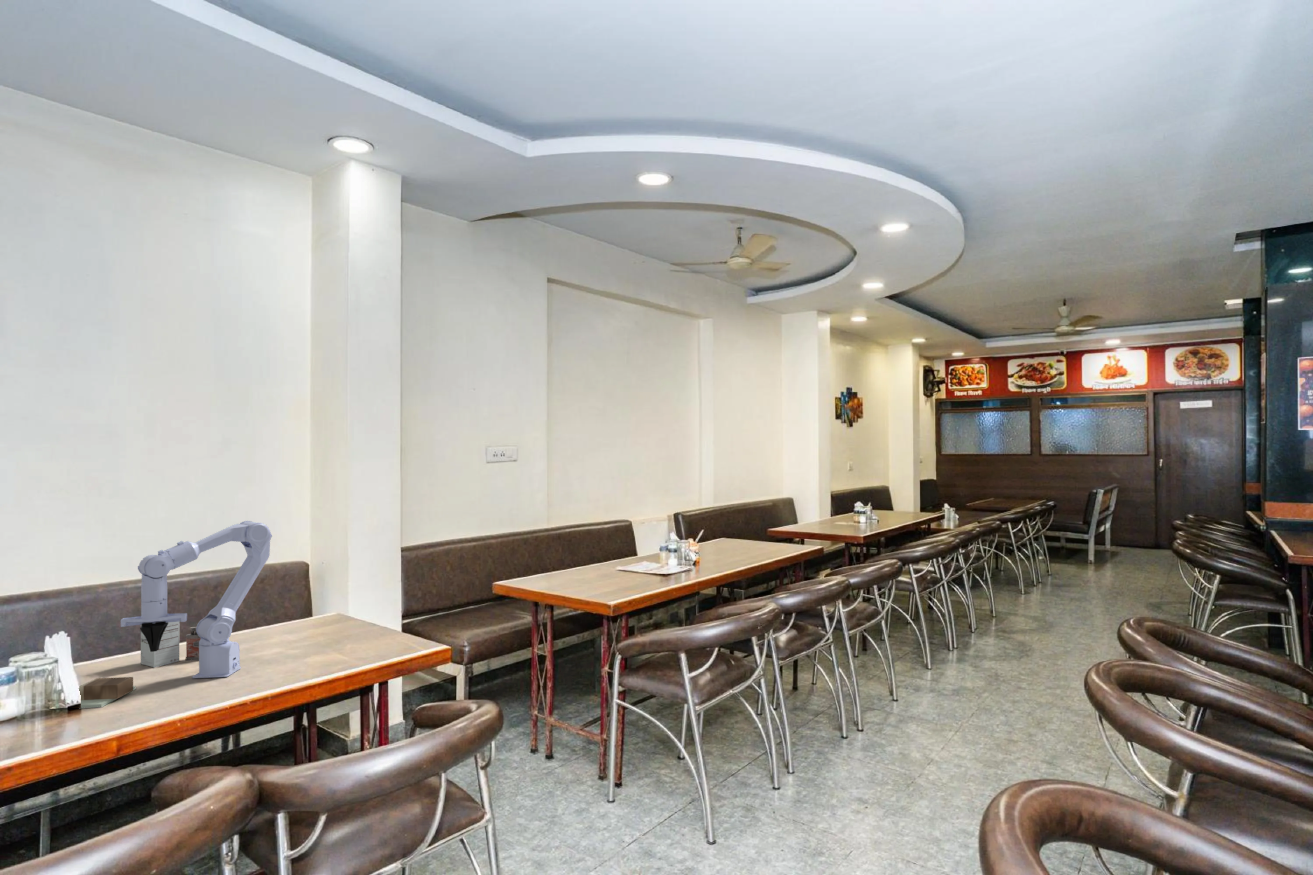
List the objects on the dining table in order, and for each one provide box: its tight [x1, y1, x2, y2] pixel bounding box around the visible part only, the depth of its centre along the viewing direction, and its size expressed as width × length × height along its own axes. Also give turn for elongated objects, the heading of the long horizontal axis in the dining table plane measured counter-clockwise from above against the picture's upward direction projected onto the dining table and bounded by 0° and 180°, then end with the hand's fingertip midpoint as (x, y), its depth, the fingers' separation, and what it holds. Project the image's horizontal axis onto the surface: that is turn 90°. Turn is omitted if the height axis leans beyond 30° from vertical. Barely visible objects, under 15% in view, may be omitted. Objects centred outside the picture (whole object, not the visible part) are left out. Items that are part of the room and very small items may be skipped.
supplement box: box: [140, 620, 180, 668], centre depth 207 cm, size 7×7×13 cm
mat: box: [80, 685, 137, 709], centre depth 177 cm, size 12×13×2 cm
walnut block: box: [78, 676, 134, 700], centre depth 178 cm, size 4×6×9 cm
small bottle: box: [185, 626, 201, 662], centre depth 211 cm, size 8×3×10 cm, turn 105°
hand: (154, 650), depth 185 cm, fingers closed
